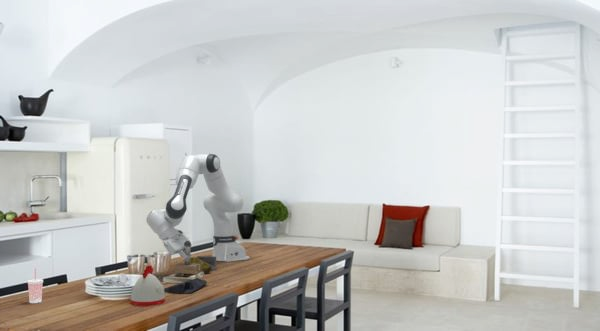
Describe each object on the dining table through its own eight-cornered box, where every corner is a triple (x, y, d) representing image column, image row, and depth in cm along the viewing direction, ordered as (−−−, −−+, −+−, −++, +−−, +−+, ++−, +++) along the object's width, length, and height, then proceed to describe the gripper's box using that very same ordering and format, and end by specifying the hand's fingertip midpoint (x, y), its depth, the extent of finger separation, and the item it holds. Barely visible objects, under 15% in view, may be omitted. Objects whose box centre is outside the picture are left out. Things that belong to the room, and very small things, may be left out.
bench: (195, 268, 335) (195, 255, 334) (219, 269, 331) (219, 256, 331) (163, 282, 297) (163, 267, 297) (190, 283, 294) (190, 269, 294)
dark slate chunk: (212, 286, 290) (212, 276, 290) (188, 295, 270) (188, 285, 270) (184, 284, 296) (184, 274, 296) (158, 293, 275) (158, 282, 275)
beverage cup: (38, 299, 261) (38, 266, 261) (46, 301, 257) (46, 268, 257) (24, 302, 257) (24, 268, 256) (32, 304, 253) (31, 270, 253)
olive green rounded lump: (202, 275, 315) (202, 259, 315) (183, 273, 322) (183, 257, 322) (213, 272, 322) (213, 257, 322) (194, 270, 329) (194, 255, 329)
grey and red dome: (170, 299, 262) (170, 263, 262) (155, 306, 248) (155, 269, 248) (140, 297, 265) (140, 262, 265) (124, 305, 252) (124, 268, 251)
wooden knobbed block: (181, 274, 313) (180, 239, 313) (201, 275, 310) (201, 240, 310) (174, 277, 306) (174, 241, 306) (195, 278, 303) (195, 241, 303)
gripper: (165, 235, 299) (184, 255, 297) (183, 230, 319) (200, 249, 317) (156, 243, 300) (175, 264, 298) (175, 238, 320) (192, 258, 318)
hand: (188, 257), depth 307 cm, fingers closed on wooden knobbed block, 3 cm apart
